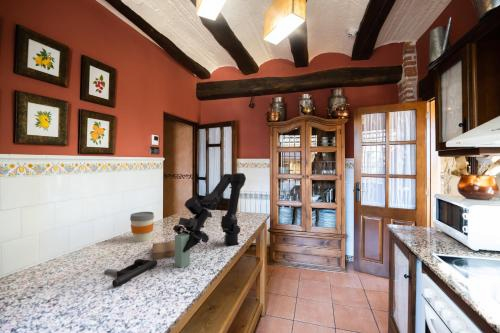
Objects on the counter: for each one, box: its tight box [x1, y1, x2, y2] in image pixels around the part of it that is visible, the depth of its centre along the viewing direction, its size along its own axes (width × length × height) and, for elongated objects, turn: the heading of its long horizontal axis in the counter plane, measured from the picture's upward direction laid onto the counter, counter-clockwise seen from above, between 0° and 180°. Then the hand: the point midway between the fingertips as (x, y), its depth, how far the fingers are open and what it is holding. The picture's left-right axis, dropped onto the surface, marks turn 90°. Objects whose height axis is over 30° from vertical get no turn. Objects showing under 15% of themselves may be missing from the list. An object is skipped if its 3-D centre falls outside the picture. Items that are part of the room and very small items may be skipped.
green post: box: [174, 233, 191, 269], centre depth 104 cm, size 4×4×13 cm
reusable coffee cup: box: [129, 211, 155, 243], centre depth 138 cm, size 13×13×15 cm
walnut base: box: [152, 240, 175, 260], centre depth 119 cm, size 14×14×3 cm
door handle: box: [103, 258, 158, 288], centre depth 97 cm, size 3×20×16 cm
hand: (179, 250), depth 103 cm, fingers closed on green post, 4 cm apart
